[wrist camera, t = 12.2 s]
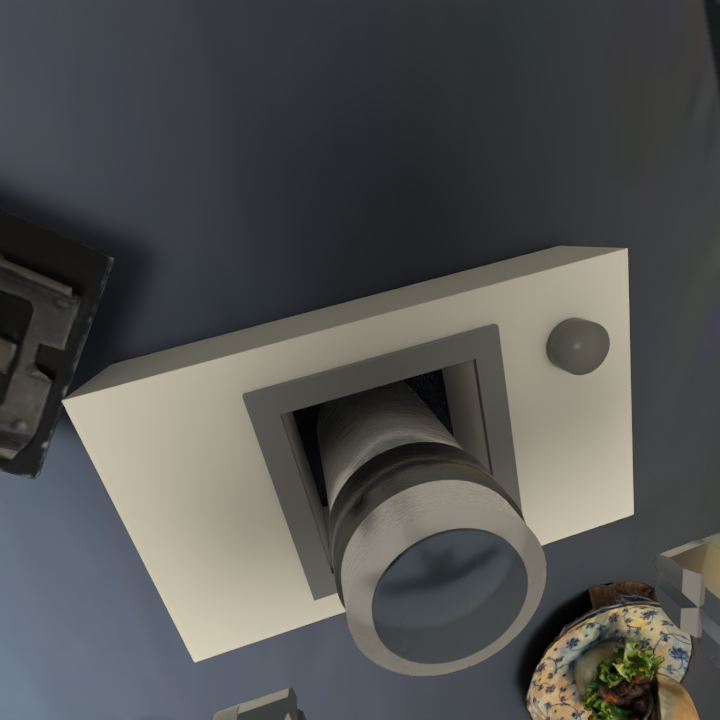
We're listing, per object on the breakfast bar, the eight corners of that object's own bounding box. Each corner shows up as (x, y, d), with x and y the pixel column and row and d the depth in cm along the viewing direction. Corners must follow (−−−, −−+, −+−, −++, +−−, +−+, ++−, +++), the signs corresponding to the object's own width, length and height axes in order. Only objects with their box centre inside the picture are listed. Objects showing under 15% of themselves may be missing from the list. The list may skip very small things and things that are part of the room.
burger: (571, 560, 25) (684, 688, 18) (703, 599, 28) (844, 721, 21) (478, 706, 27) (546, 871, 20) (611, 727, 30) (710, 876, 23)
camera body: (111, 364, 17) (47, 410, 12) (558, 245, 19) (645, 248, 14) (211, 585, 21) (190, 682, 16) (575, 468, 23) (648, 525, 18)
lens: (299, 388, 19) (314, 548, 9) (415, 355, 19) (545, 474, 10) (329, 488, 20) (369, 713, 11) (435, 456, 21) (563, 643, 11)
